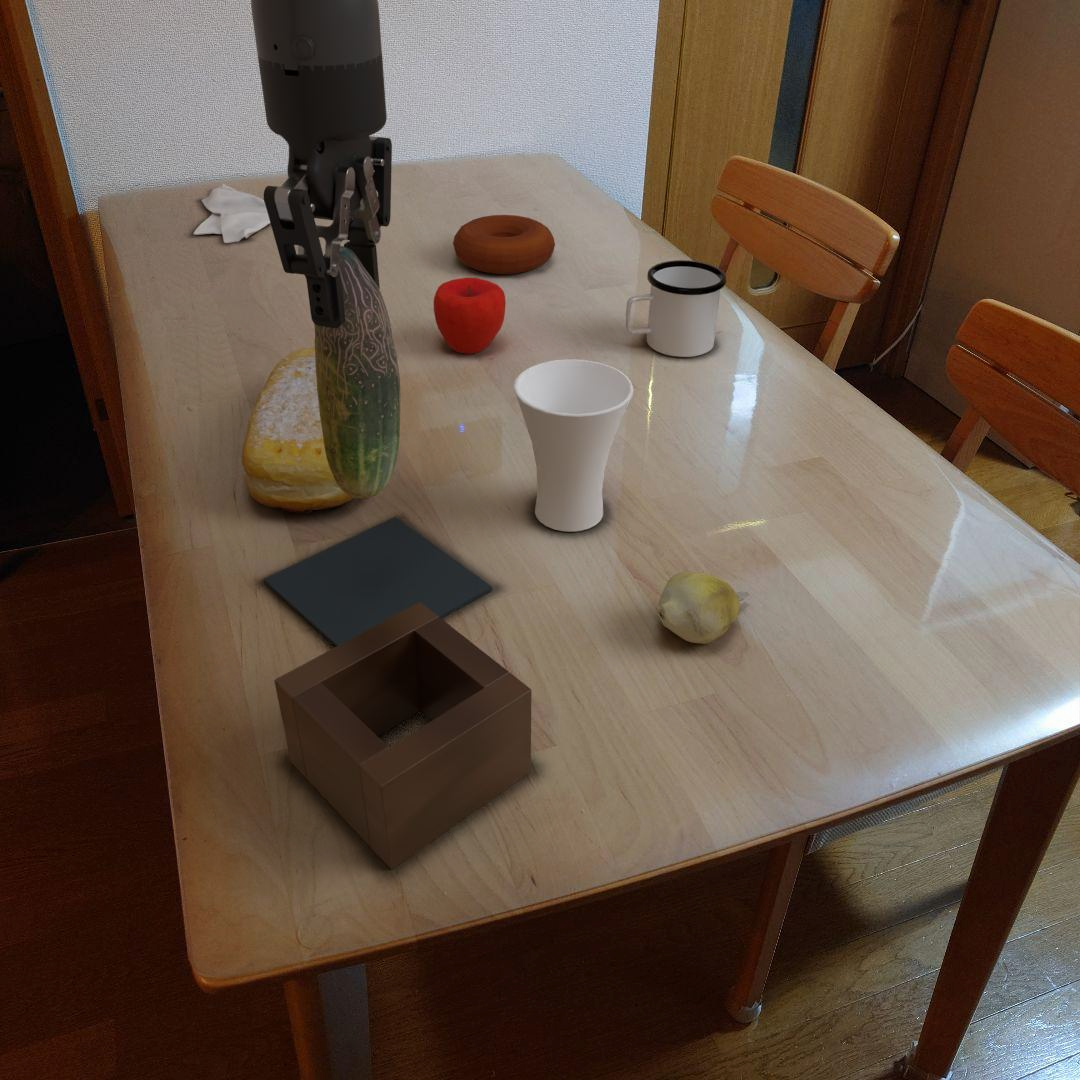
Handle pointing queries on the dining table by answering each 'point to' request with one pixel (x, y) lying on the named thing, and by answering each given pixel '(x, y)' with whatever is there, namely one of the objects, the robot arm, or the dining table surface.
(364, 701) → the holder
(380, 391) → the vegetable
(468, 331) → the apple
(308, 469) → the bread
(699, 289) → the mug
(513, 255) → the donut
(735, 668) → the dining table surface
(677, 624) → the fruit
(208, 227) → the cloth
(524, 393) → the cup
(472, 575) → the mat
